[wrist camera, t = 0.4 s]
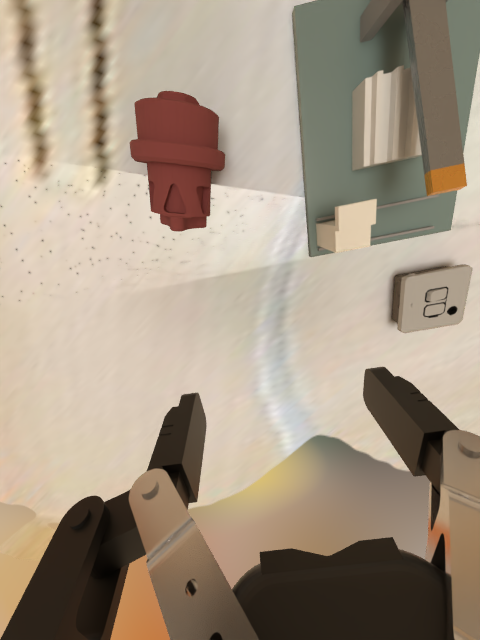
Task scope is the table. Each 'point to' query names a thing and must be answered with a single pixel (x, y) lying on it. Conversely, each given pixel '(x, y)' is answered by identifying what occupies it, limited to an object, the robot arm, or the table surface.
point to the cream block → (348, 227)
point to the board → (372, 113)
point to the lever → (435, 95)
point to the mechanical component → (178, 156)
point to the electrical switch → (430, 298)
